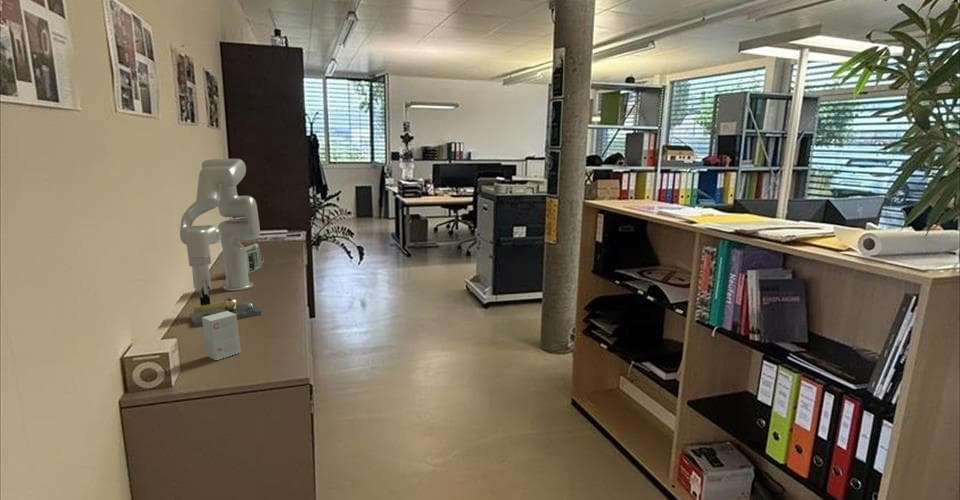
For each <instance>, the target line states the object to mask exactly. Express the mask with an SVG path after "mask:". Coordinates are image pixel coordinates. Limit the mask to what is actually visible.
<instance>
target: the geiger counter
mask: <svg viewBox="0 0 960 500" xmlns="http://www.w3.org/2000/svg"><path fill="white" fill-rule="evenodd" d="M244 248H245V250H246V259H247V268H248V273H249V274H251V273H250V272H252V273H254V272H256V271H255V270H257V269H259V268H262V264H263V263H264V261H265V259H264V257H263V255H262V254H261V250H260V247H259V244H258V243H253V244H250V245H248V246H244ZM262 269H263V268H262ZM253 271H254V272H253ZM257 271H258V270H257Z"/></svg>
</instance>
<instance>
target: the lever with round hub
mask: <svg viewBox="0 0 960 500" xmlns="http://www.w3.org/2000/svg"><path fill="white" fill-rule="evenodd" d="M237 302H238V301H237V298H234V297H227V298H226V299H224V300H223V301H217V302H210V304H205V305H201V304H198V305H194V306H192V313H194V314H197V313H202V312H208V311H213V310H219V309H224V308H225V310H226V311H232V310H236V309H237V305H238V304H237Z"/></svg>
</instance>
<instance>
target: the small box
mask: <svg viewBox="0 0 960 500" xmlns="http://www.w3.org/2000/svg"><path fill="white" fill-rule="evenodd" d="M202 323H203V326H202V327H203V328H202V329H203V336H204V343H205V348H206V350H205V351H206V356H207V357H208V358H209V357H210V359H211V358H212V359H211V360H213V359H214V360H213V361H215V360H218V361H219V360H220V359H221V360H223V358H224V359H226V357H227V358H229V356H230V357H232V355H233V356H235V354H236V355H239V354H241V353H242V351H241V350H242V349H241V343H240V342H241V341H240V335H239V327H238V319H237V317H236V314H234V313H231V312H229V311H225V312H221V313H217V314H213V315H209V316H205V317H202ZM238 353H239V354H238Z"/></svg>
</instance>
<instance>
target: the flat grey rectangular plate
mask: <svg viewBox="0 0 960 500" xmlns="http://www.w3.org/2000/svg"><path fill="white" fill-rule="evenodd" d="M225 311H226V310H225V308H224V309H219V310H213V311H208V312H202V313H197V314H194V313H193V312H192V313H188V316H189V319H190V321H191V323H192V324H193V325H194V327H195V328H198V327H203V323H202V317H205V316H209V315H213V314H217V313H221V312H225ZM229 312H231V313H234V314H236V317H237V320H240V319H245V318H249V317H254V316H255V317H256V316H261V315H262V310H261V309H260V308H259V307H257V305H256V304H255V303H254V302H250V301H248V302H246V303H243V304H242V303H241V304H237V309H236V310H232V311H229Z"/></svg>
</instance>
